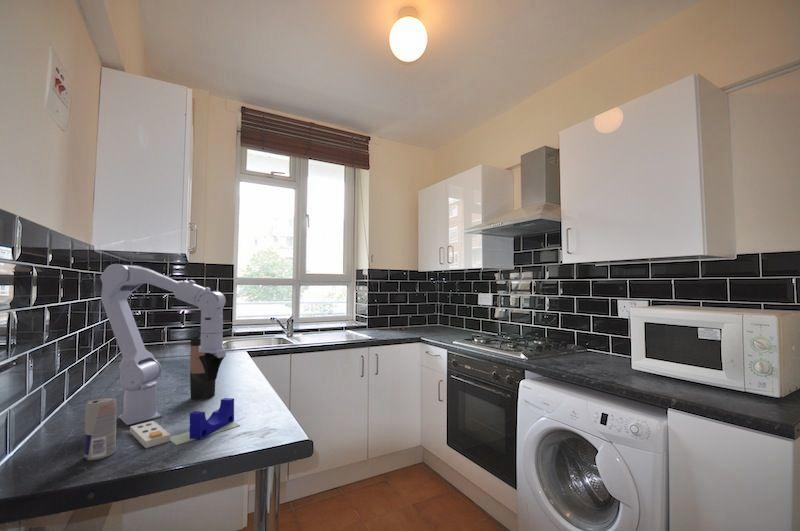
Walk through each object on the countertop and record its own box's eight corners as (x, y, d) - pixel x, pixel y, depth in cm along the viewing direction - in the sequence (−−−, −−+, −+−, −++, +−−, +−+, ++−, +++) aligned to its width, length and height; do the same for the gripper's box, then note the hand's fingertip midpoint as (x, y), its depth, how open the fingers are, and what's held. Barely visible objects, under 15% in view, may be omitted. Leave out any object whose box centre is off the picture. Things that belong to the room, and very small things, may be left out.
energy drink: (96, 450, 82) (97, 396, 83) (121, 448, 83) (122, 395, 83) (77, 461, 77) (79, 404, 77) (104, 460, 77) (105, 403, 78)
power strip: (130, 432, 92) (130, 424, 92) (153, 426, 96) (153, 418, 96) (145, 448, 83) (145, 438, 83) (170, 440, 87) (170, 431, 87)
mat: (167, 438, 88) (167, 437, 88) (230, 420, 99) (230, 419, 99) (176, 445, 84) (176, 444, 84) (239, 425, 95) (239, 424, 95)
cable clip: (219, 419, 99) (220, 397, 100) (234, 420, 98) (234, 398, 98) (184, 437, 88) (184, 412, 88) (199, 439, 86) (200, 414, 87)
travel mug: (220, 395, 122) (220, 336, 123) (197, 401, 116) (198, 339, 117) (207, 392, 126) (208, 334, 127) (185, 398, 120) (185, 337, 121)
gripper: (236, 332, 103) (236, 380, 103) (215, 329, 113) (215, 373, 112) (210, 335, 98) (210, 386, 97) (191, 331, 108) (190, 377, 107)
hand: (211, 379), depth 104 cm, fingers closed
